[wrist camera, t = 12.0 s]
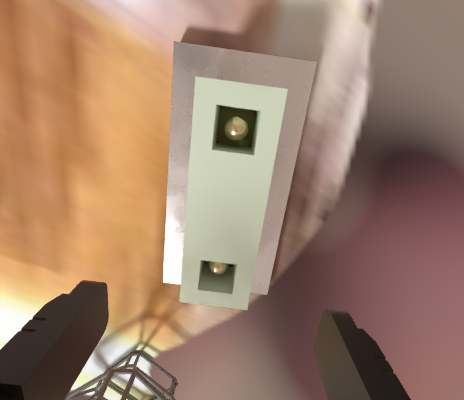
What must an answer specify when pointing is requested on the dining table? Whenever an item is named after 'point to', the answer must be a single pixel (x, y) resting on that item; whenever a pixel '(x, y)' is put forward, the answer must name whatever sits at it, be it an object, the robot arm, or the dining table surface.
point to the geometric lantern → (135, 373)
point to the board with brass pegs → (233, 141)
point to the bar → (227, 192)
